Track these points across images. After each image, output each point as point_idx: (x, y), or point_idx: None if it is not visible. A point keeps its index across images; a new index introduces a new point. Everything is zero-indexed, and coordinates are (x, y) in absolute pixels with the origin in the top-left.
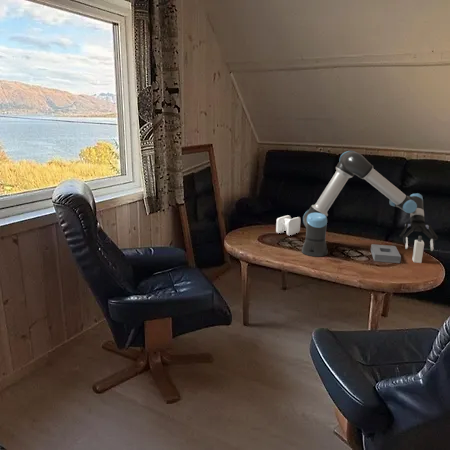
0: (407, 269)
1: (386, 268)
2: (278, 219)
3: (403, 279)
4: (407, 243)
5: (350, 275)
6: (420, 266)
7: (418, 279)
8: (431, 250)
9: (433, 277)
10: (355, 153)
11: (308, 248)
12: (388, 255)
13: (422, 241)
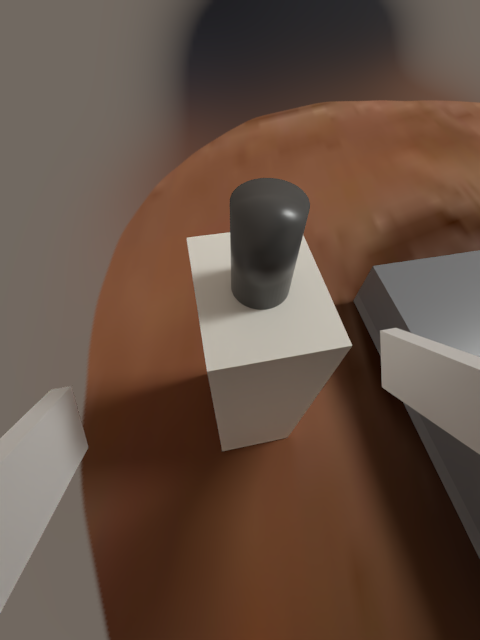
0: None
1: (392, 202)
2: None
3: (291, 134)
4: (422, 345)
5: (474, 112)
6: None
7: (233, 149)
8: (79, 435)
9: (165, 182)
10: None
11: None
12: (462, 254)
13: (209, 294)
